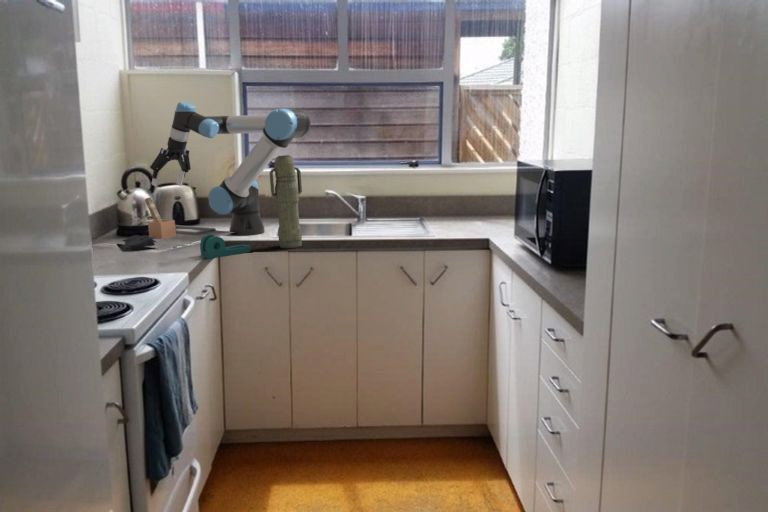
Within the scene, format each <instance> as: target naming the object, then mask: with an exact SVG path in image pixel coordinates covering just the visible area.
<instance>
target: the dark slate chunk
mask: <svg viewBox="0 0 768 512" xmlns="http://www.w3.org/2000/svg"><path fill="white" fill-rule="evenodd" d="M121 242H124V243H116V246H117V247H118V248H119V249H120V250H121V251H122V252H123V253H126V252H128V253H133V252H140V251H150V250H156V249H159V247H152V246H155V245H156V244H155V243H157V241H156V240H154V239H153V238H152V237H149V235H147V234H145V235H139V234H134V235H131V236H130V237H129V236H128V237H127V238H125V239H122V240H121Z"/></svg>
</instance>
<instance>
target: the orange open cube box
mask: <svg viewBox="0 0 768 512" xmlns="http://www.w3.org/2000/svg"><path fill="white" fill-rule="evenodd" d="M161 219H162V218H161ZM175 221H176V220H175V219H166V218H165V219H164V218H163V219H162V222H155V221H154V220H150V221H147V226H148V237H150V238H152V239H153V238H155V239H165V238H166V239H167V238H170V237H174V236H177V233H176V228H175V225H176V222H175Z"/></svg>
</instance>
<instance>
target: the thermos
mask: <svg viewBox="0 0 768 512" xmlns="http://www.w3.org/2000/svg"><path fill="white" fill-rule="evenodd" d="M273 166H274V168H272V169H270V171H269V182H270V183H269V184H270V193H271V197H274V198H275V202H276V204H277V217H278V229H277V234H278V241H279V242H278V243H279V247H280V248H281V249H295V248H301V247H302V246H303V243H302V239H303V238H302V237H303V234H302V227H301V225H300V215H299V201H300V199H299V197H300V195H301V193H302V192H303V188H302V177H301V175H302V174H301V170H300V169H299V168H298V167H296V166H295V161H294V159H293V156H291V155H290V154H289V155H288V154H285V155H277V156H276V157H275V161H274V165H273ZM274 174H275V182H274ZM296 176H297V180H296ZM274 184H275V185H274Z"/></svg>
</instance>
